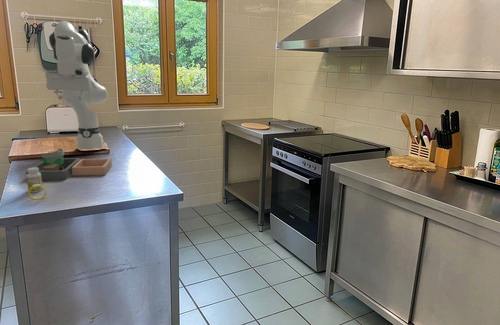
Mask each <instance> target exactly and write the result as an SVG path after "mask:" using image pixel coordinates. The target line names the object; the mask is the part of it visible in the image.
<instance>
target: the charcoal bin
mask: <svg viewBox="0 0 500 325" xmlns="http://www.w3.org/2000/svg"><path fill="white" fill-rule="evenodd" d="M81 159H82V158H79V157H73V158H72V157H71V158H69V157H67V158H66V157H65V158H64V157H63V167H66V168H64V170H58V171H43V167H44V161H43V160H41V161H40V162H39V163H37V164H35V165H34V166H33V167H37V168H39V173H41V177H42V181H48V180H51V181H52V180H57V181H59V180H67V179H69V178H70V177H71V175H72V176H73V174H72V167H73V166H74V165H75V164H76V163H78V162H79V161H80V160H81ZM33 167H31V168H33ZM25 174H26V175H25V176H27V174H28V170H26V171H25Z"/></svg>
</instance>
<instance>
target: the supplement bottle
mask: <svg viewBox="0 0 500 325" xmlns="http://www.w3.org/2000/svg"><path fill="white" fill-rule="evenodd" d="M27 171H28V174H27V176H26V175H25V176H26V183H27V190H28V191H29V190H30V188H31V187H32V186H33V185H34V184H40V185H41V186H43V180H42V177H41V173H39V168H37V167H34V166H33V168H32V167H28V168H27ZM43 190H44V189H43V188H42V187H37V188H32V189H31V191H30V193H39V192H41V191H43Z"/></svg>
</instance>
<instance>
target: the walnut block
mask: <svg viewBox="0 0 500 325" xmlns="http://www.w3.org/2000/svg"><path fill="white" fill-rule="evenodd" d="M43 171H58V165H46V166H44V167H43Z"/></svg>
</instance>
